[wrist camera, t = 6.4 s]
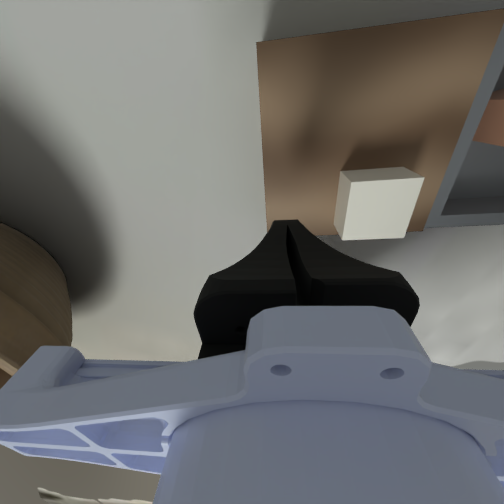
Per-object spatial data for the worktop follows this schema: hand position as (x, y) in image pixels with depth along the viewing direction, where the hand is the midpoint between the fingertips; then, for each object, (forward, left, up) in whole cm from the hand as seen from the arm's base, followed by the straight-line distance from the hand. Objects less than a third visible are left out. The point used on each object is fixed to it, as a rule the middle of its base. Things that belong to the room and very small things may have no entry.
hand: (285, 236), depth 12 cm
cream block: (0, -6, -5) cm, 8 cm away
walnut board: (+3, -5, -9) cm, 11 cm away
